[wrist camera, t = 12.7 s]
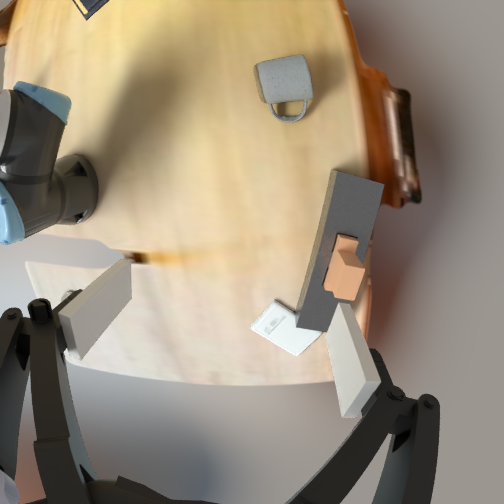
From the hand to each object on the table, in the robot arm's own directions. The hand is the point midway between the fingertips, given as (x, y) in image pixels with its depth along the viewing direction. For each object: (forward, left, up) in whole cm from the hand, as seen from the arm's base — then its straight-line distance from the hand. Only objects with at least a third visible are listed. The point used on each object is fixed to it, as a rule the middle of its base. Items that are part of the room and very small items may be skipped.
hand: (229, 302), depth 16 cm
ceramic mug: (0, +20, -33) cm, 38 cm away
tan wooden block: (+14, -6, -31) cm, 35 cm away
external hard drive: (+9, -24, -33) cm, 42 cm away
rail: (+14, -6, -32) cm, 36 cm away
